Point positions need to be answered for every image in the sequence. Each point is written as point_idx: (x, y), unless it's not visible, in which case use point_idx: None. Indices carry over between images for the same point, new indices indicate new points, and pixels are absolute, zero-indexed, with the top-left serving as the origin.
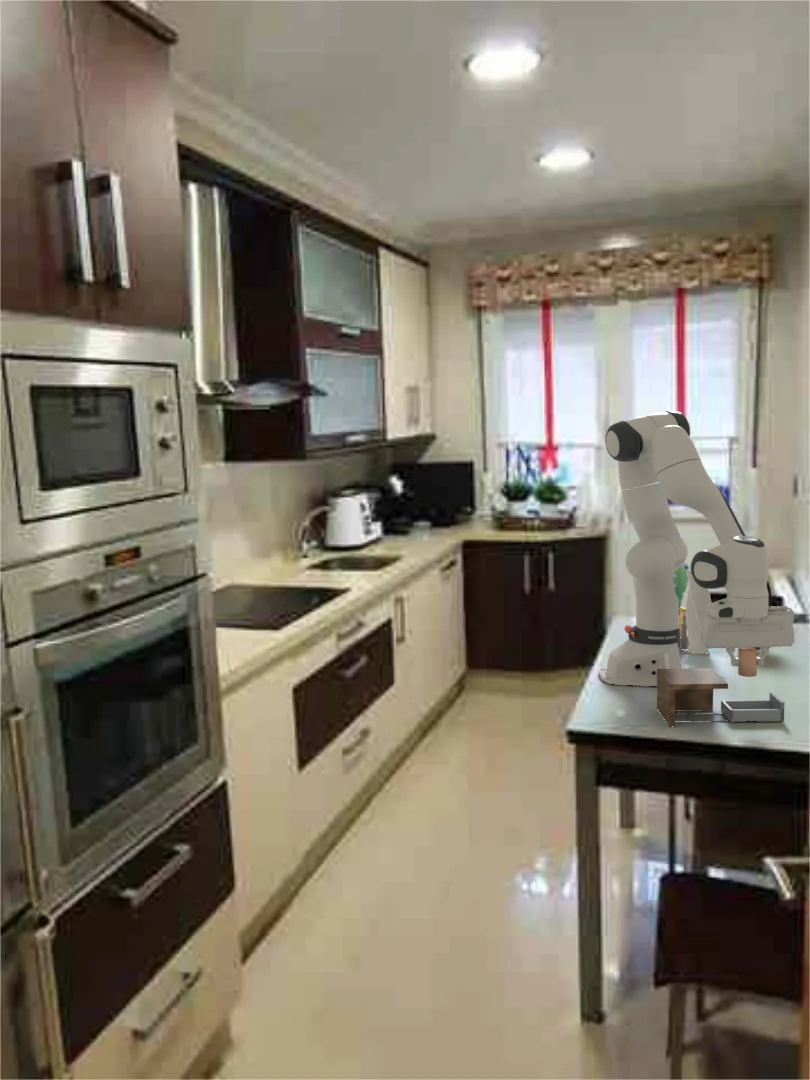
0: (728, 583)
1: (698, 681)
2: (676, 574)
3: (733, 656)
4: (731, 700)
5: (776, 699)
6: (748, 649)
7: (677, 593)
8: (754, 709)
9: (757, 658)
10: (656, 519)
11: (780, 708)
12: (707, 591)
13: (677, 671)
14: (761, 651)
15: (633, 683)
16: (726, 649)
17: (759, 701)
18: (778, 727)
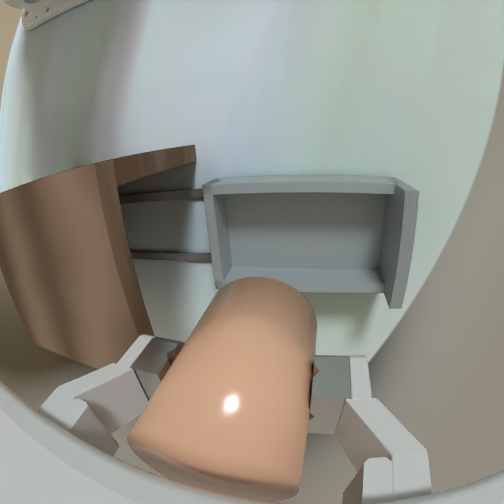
0: None
1: (74, 343)
2: None
3: (126, 416)
4: (240, 185)
5: (395, 266)
6: (216, 481)
7: None
8: (297, 286)
9: (311, 427)
10: None
11: (385, 293)
12: None
13: (11, 227)
14: (375, 442)
15: (53, 14)
16: (58, 400)
17: (352, 192)
18: (351, 305)
